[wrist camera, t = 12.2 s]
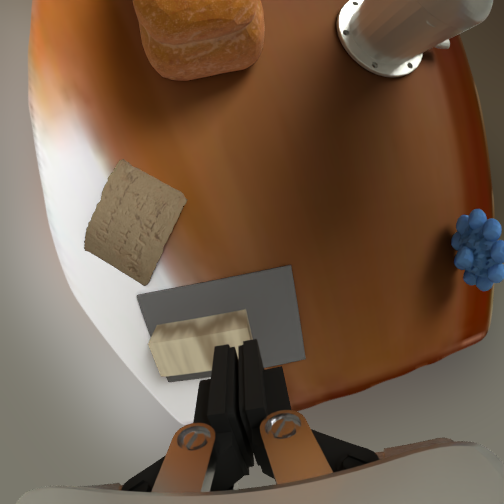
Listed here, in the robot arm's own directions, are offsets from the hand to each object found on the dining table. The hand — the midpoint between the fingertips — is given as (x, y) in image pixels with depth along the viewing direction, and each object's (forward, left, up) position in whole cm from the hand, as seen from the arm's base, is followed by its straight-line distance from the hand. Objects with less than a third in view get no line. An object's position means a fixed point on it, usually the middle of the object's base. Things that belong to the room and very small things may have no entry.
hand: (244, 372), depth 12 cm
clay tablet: (+13, -4, -28) cm, 31 cm away
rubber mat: (+5, +12, -27) cm, 30 cm away
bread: (-1, -32, -27) cm, 42 cm away
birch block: (+1, +12, -24) cm, 27 cm away
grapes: (-29, +7, -27) cm, 41 cm away
